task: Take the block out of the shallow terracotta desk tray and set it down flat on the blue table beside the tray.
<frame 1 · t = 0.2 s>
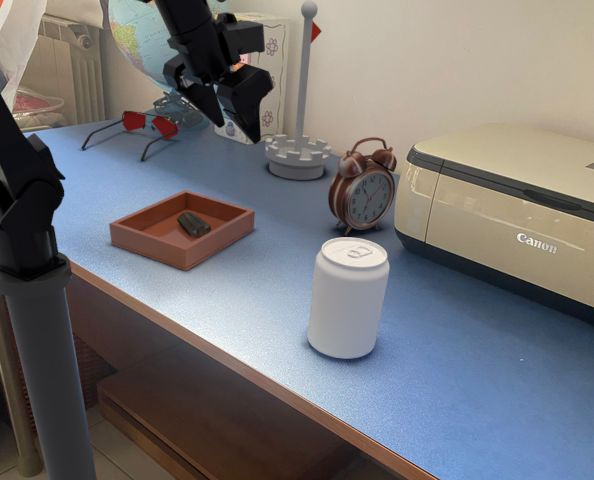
hand: (239, 133, 83), 16 cm above the table, tool tilted 30°, fingers open, 9 cm apart
beverage can: (340, 344, 70), on the table
desk tray: (186, 236, 90), on the table
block: (193, 230, 91), resting in desk tray
flag stand: (296, 171, 120), on the table
alarm clock: (356, 230, 98), on the table
glasses: (133, 146, 124), on the table
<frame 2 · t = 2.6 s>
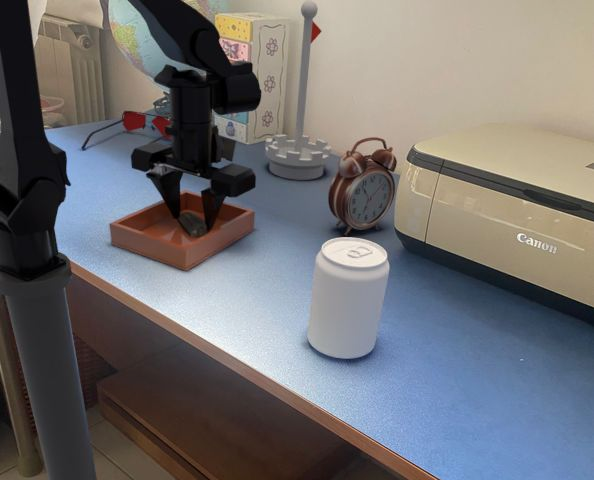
hand: (193, 223, 91), 2 cm above the table, tool pointing down, fingers closed on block, 6 cm apart
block: (193, 230, 91), resting in desk tray, touching gripper
everything else where it was.
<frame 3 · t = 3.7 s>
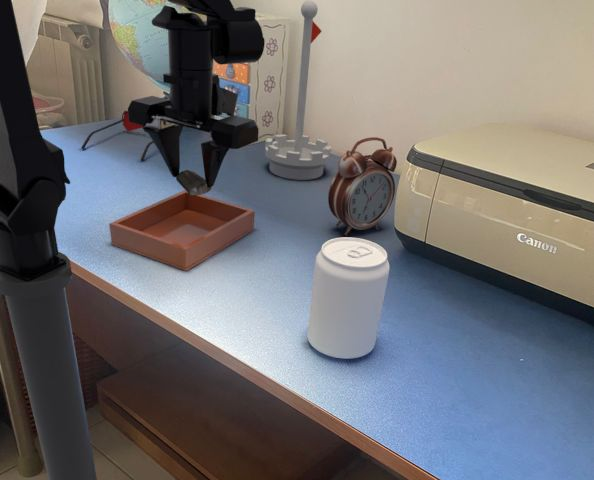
hand: (193, 181, 87), 8 cm above the table, tool pointing down, fingers closed on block, 6 cm apart
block: (193, 189, 87), point 7 cm above the table, touching gripper
everything else where it was.
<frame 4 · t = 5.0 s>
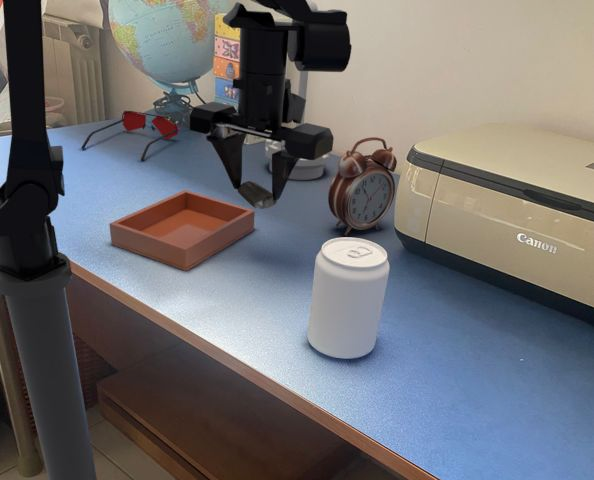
hand: (256, 194, 80), 10 cm above the table, tool pointing down, fingers closed on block, 6 cm apart
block: (256, 202, 81), point 9 cm above the table, touching gripper
everything else where it was.
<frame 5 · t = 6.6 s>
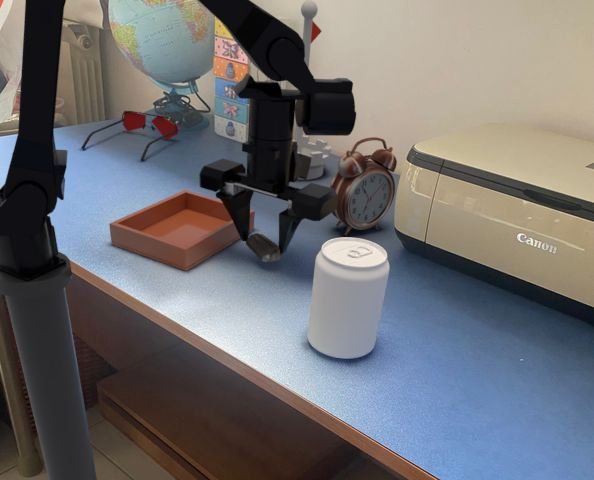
hand: (263, 246, 84), 3 cm above the table, tool pointing down, fingers closed on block, 6 cm apart
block: (263, 254, 84), point 1 cm above the table, touching gripper
everything else where it was.
when the fingers open (1 cm above the table, at t = 7.6 s): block stays where it is, on the table.
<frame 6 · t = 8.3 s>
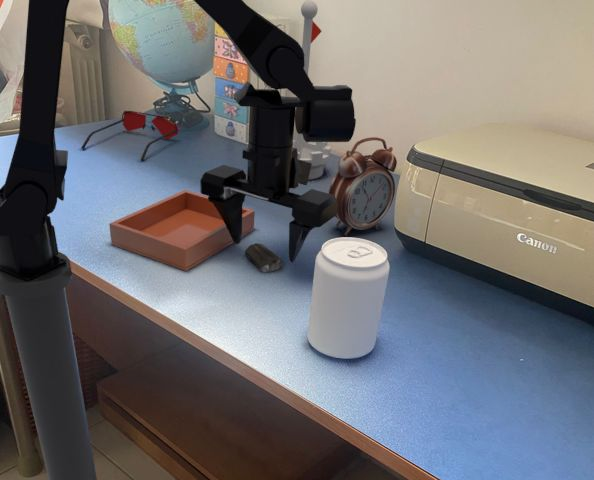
hand: (264, 252, 84), 2 cm above the table, tool pointing down, fingers open, 9 cm apart
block: (263, 264, 85), on the table
everything else where it was.
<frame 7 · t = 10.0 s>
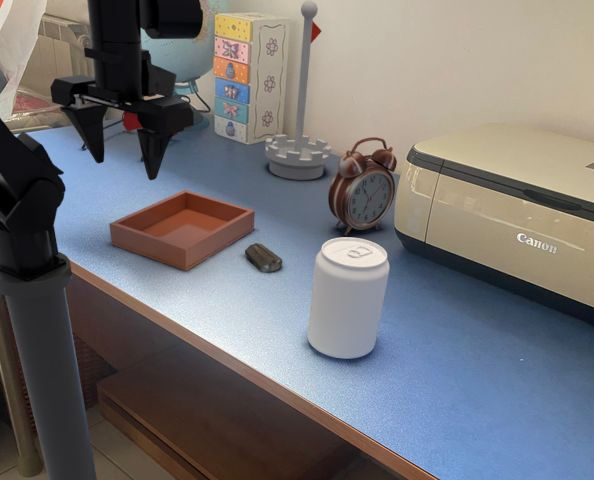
hand: (125, 170, 78), 12 cm above the table, tool pointing down, fingers open, 9 cm apart
nothing on the table moved.
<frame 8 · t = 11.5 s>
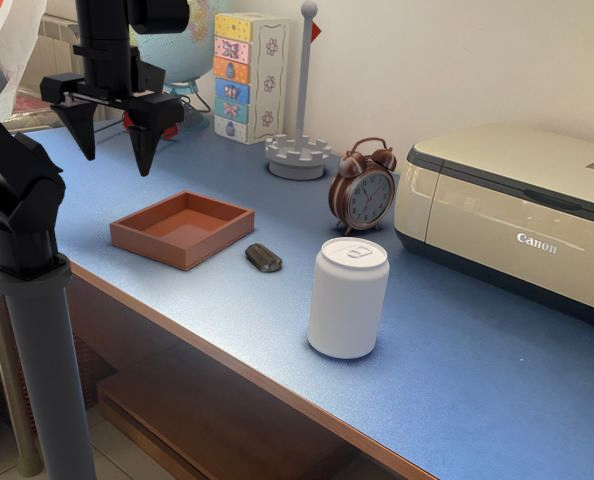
hand: (117, 167, 78), 12 cm above the table, tool pointing down, fingers open, 9 cm apart
nothing on the table moved.
at the end: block inside the target area (0.1 cm from its centre), on the table; the gripper is holding nothing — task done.
